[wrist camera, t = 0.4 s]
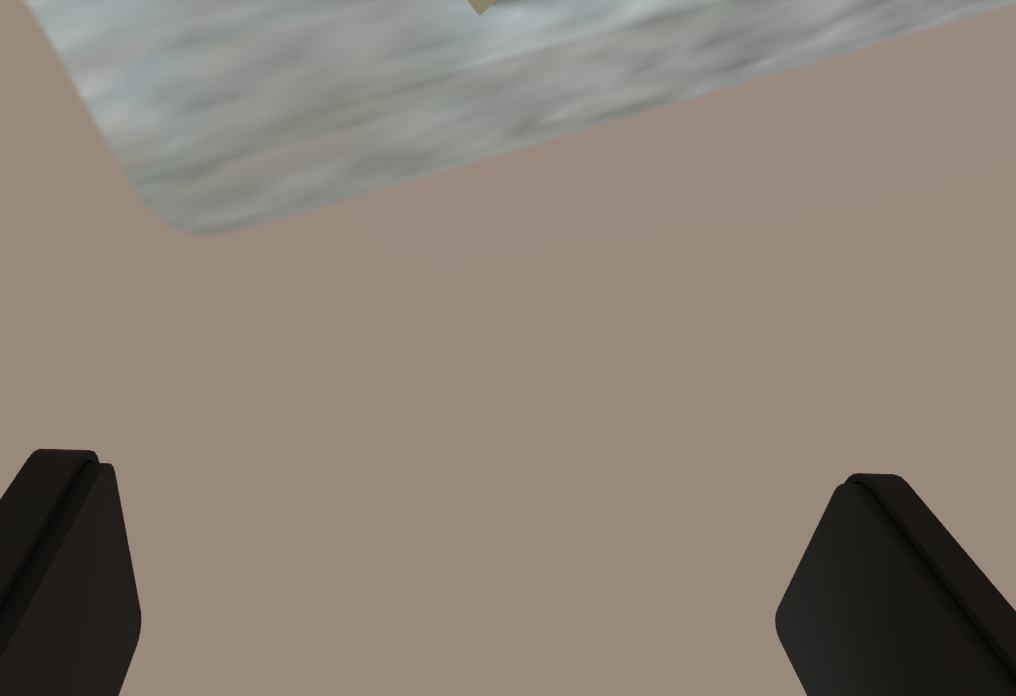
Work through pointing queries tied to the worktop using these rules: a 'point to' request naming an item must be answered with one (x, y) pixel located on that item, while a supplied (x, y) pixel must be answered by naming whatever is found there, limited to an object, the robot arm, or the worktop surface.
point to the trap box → (481, 5)
